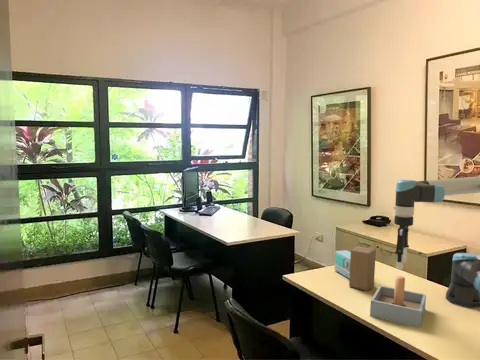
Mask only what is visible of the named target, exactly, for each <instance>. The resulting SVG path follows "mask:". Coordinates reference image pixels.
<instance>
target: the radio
mask: <svg viewBox="0 0 480 360" xmlns="http://www.w3.org/2000/svg"><path fill="white" fill-rule="evenodd" d="M360 245H361V243H358V246H360ZM350 257H351V251H349V250H346V249H343V250H335V251H334V271H336V272H337V273H339V274H340V275H342V276H344V277H346V278H347V279H348V280H349V279H350Z"/></svg>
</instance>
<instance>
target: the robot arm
mask: <svg viewBox="0 0 480 360" xmlns="http://www.w3.org/2000/svg"><path fill="white" fill-rule="evenodd" d="M469 194H480V174H479V175H478V176H467V177H456V178H455V177H453V178H443V179H430V180H419V181H417V180H412V179H398V180H397V181H396V185H395V202H394V203H395V204H394V205H395V206H394V207H393V209H394V219H393V220H394V221H393V223H394V224H395V226H396V225H397V226H399V227H398V228H397V236H396V237H397V241H396V248H395V249H396V250H395V251H394V254H395V255H396V256H395V258H396V259H395V269H396V270H403V267H404V263H407V257H408V255H407V254H408V248H410V245H408V244H409V243H408V242H409V230H410V229H409V227H411V226H413V225H414V215H415V203H432V204H434V203H441V202H443V201H444V199H445V196H455V195H469ZM451 264H452V265H451V275H450V277H451V279H450V284H449V286H448V288H447V290H446V292H445V299H446V300H447V301H448V302H450V303H452V304H454V305H456V306H461V307H464V308H465V307H466V308H480V254H476V253H471V252H469V253H467V252H456V253H454V254H453V256H452V263H451Z"/></svg>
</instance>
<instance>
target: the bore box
mask: <svg viewBox="0 0 480 360" xmlns="http://www.w3.org/2000/svg"><path fill="white" fill-rule="evenodd" d="M394 290H395V287H391V286H384V285H379V286H378V288H376V291H375V293H374V294H373V296H372V298H371V300H370V307H369V316H370V317H373V318H377V319H381V320H387V321H391V322H396V323H398V324H403V325H407V326H412V327H416V328H421V326H422V323H423V319H424V315H425V311H426V303H427V302H426V299H427V294H426V293H422V292H421V293H420V292H416V291H415V292H414V291H410V290H405V289H404V304H403V306H399V305H394Z"/></svg>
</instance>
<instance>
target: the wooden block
mask: <svg viewBox="0 0 480 360" xmlns="http://www.w3.org/2000/svg"><path fill="white" fill-rule="evenodd" d="M350 252H351V257H350V279H348V280H349V281H348V284H349V287H350V288H352V289H353V288H354V289H358V290H362V291H365V292H368V291H369V290H370V289H372V288H373V287H374V286H375V285H374V284H375V272H376V271H375V270H376V253H377V251H376V249H375V248H370V247H366V246H359V245H358V246H356V247H354V248H351V249H350Z"/></svg>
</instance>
